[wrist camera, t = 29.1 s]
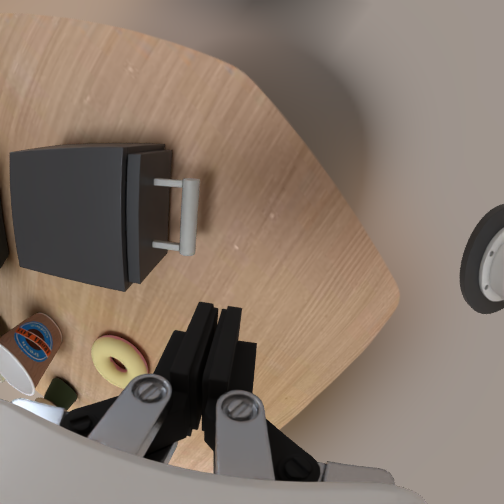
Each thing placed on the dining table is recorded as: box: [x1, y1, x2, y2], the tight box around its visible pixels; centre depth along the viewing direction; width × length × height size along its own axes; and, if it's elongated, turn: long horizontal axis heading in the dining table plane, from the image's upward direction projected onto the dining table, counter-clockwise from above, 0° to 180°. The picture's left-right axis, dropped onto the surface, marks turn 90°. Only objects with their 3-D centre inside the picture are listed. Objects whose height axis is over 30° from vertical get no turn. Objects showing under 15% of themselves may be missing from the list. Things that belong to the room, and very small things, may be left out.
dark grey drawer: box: [125, 150, 200, 284], centre depth 27 cm, size 18×11×8 cm, turn 83°
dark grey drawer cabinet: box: [10, 143, 165, 292], centre depth 27 cm, size 15×13×10 cm
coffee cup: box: [0, 313, 62, 395], centre depth 35 cm, size 10×10×12 cm
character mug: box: [35, 378, 77, 411], centre depth 40 cm, size 11×7×13 cm, turn 150°
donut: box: [91, 335, 148, 389], centre depth 39 cm, size 10×5×9 cm
